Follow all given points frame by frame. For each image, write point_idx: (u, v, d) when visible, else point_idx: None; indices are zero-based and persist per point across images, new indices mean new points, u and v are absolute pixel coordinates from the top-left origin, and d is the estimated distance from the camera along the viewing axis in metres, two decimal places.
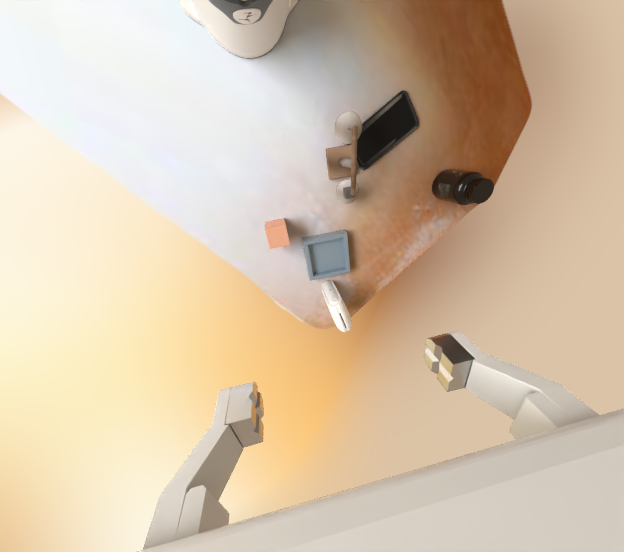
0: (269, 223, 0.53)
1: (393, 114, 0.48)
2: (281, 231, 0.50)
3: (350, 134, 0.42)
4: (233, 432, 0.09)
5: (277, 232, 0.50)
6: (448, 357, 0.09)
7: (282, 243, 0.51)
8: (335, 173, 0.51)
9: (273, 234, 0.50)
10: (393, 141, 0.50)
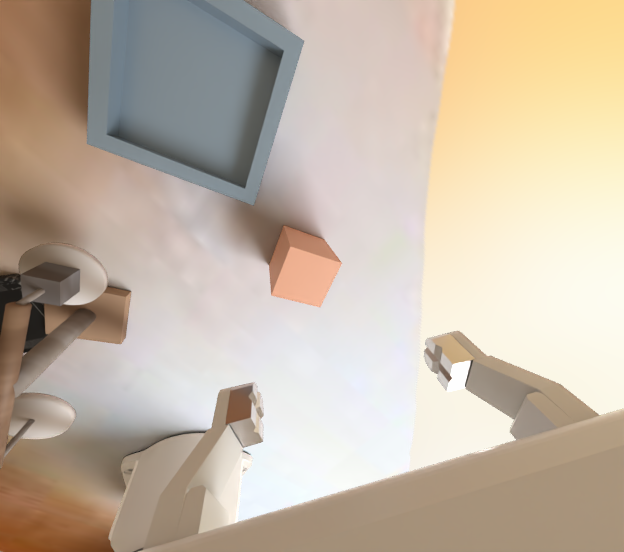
0: None
1: None
2: (289, 287, 0.19)
3: (25, 412, 0.18)
4: (233, 432, 0.09)
5: (299, 289, 0.19)
6: (448, 357, 0.09)
7: (306, 260, 0.18)
8: (107, 302, 0.22)
9: (311, 289, 0.20)
10: None
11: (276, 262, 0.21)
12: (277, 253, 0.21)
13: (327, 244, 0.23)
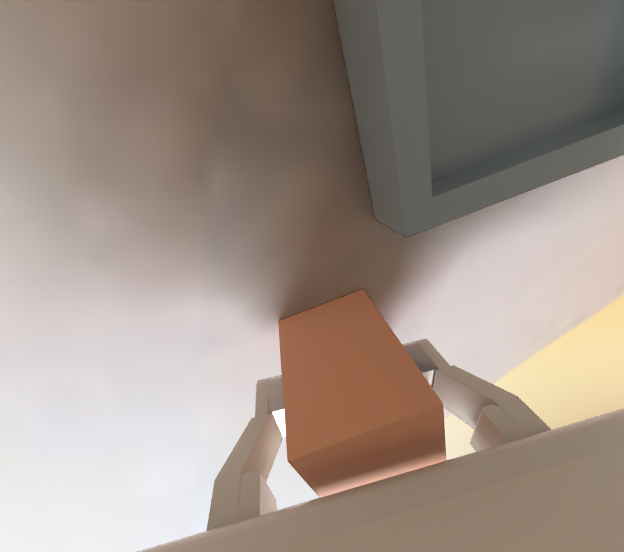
0: None
1: None
2: (337, 464, 0.07)
3: None
4: (275, 421, 0.09)
5: (346, 475, 0.07)
6: None
7: (424, 438, 0.07)
8: None
9: (359, 483, 0.08)
10: None
11: (326, 358, 0.09)
12: (331, 335, 0.10)
13: None
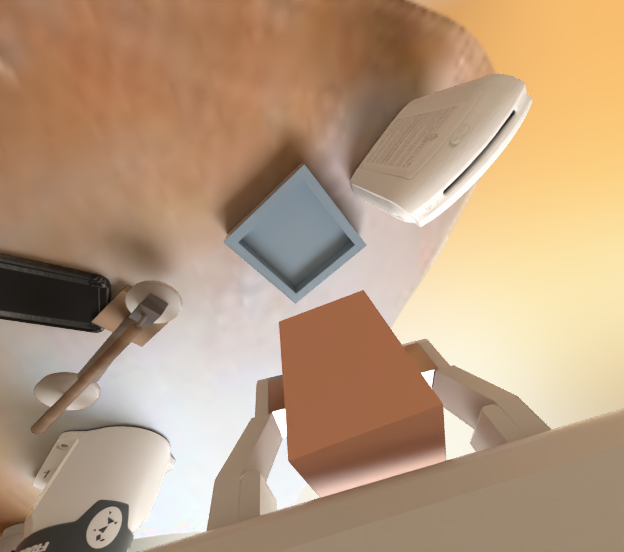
0: None
1: None
2: (338, 464, 0.07)
3: (68, 387, 0.23)
4: (275, 421, 0.09)
5: (346, 476, 0.07)
6: None
7: (424, 439, 0.07)
8: None
9: (360, 483, 0.08)
10: (1, 265, 0.23)
11: (327, 358, 0.09)
12: (332, 335, 0.10)
13: None
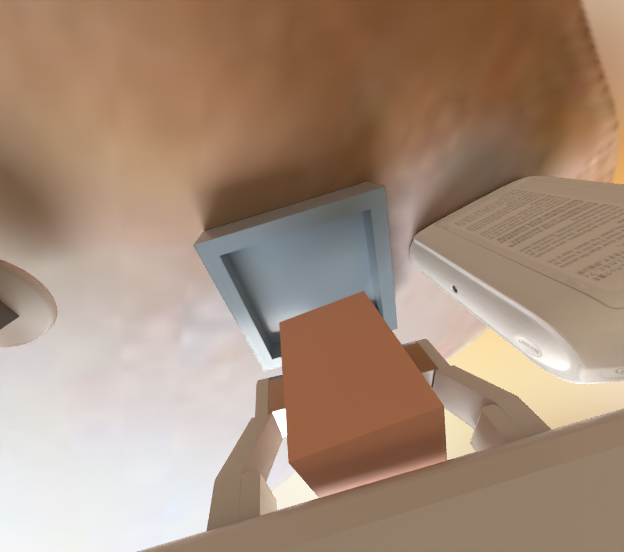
0: None
1: None
2: (338, 466, 0.07)
3: None
4: (275, 421, 0.09)
5: (346, 477, 0.07)
6: None
7: (425, 440, 0.07)
8: None
9: (360, 485, 0.08)
10: None
11: (327, 359, 0.09)
12: (332, 336, 0.10)
13: None
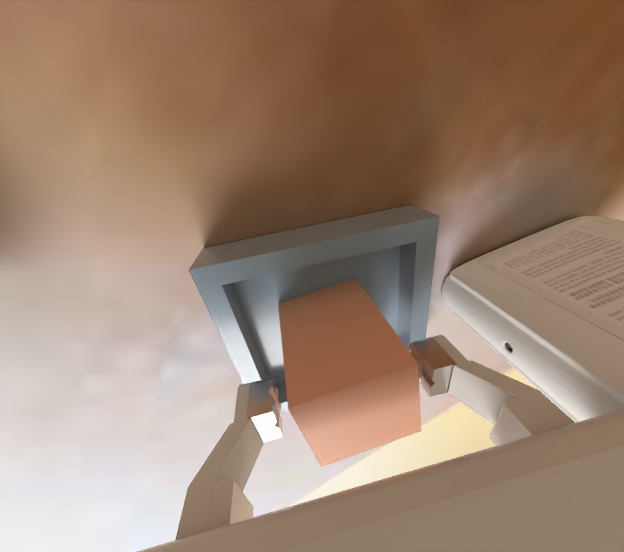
0: None
1: None
2: (329, 416, 0.08)
3: None
4: (254, 426, 0.09)
5: (335, 429, 0.09)
6: (430, 362, 0.09)
7: (402, 397, 0.08)
8: None
9: (346, 438, 0.09)
10: None
11: (321, 332, 0.10)
12: (326, 314, 0.11)
13: None
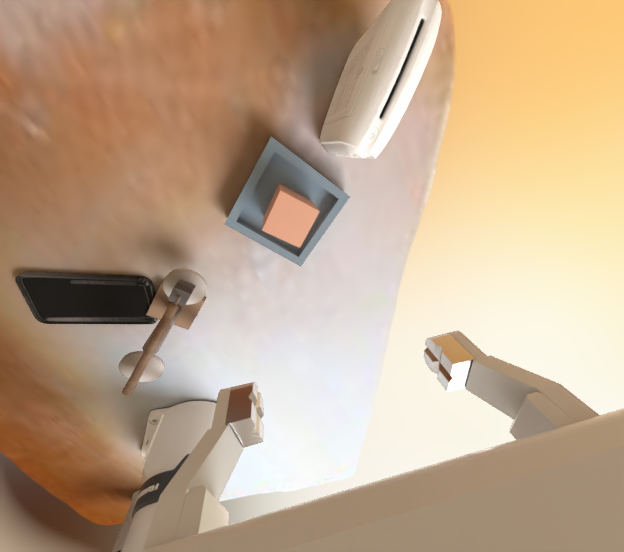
0: None
1: (67, 309, 0.32)
2: (277, 226, 0.24)
3: None
4: (233, 432, 0.09)
5: (284, 229, 0.24)
6: (448, 357, 0.09)
7: (291, 204, 0.23)
8: None
9: (293, 231, 0.25)
10: (75, 281, 0.30)
11: (269, 209, 0.26)
12: (271, 203, 0.27)
13: (312, 202, 0.28)
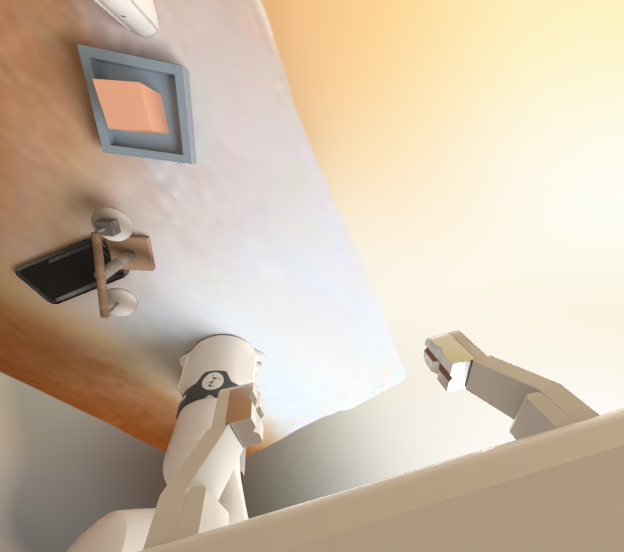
0: (156, 132, 0.31)
1: (62, 286, 0.40)
2: (116, 117, 0.26)
3: (113, 297, 0.36)
4: (233, 432, 0.09)
5: (125, 117, 0.27)
6: (448, 357, 0.09)
7: (111, 87, 0.25)
8: (138, 243, 0.39)
9: (133, 115, 0.27)
10: (51, 260, 0.38)
11: None
12: None
13: (154, 91, 0.29)
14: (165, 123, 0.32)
